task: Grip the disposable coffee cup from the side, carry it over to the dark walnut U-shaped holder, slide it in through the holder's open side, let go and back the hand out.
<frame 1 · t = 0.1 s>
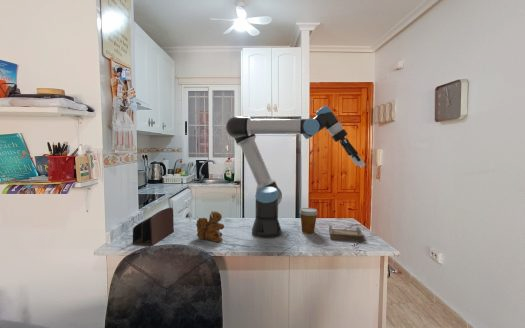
hand: (360, 165, 141), 36 cm above the countertop, tool tilted 35°, fingers open, 13 cm apart
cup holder: (345, 235, 137), on the countertop
letter holder: (154, 238, 130), on the countertop
stuffed squirrel: (209, 238, 130), on the countertop
disposable coffee cup: (308, 232, 142), on the countertop
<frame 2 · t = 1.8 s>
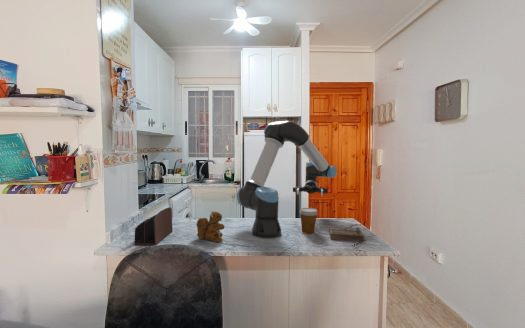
hand: (309, 192, 150), 19 cm above the countertop, tool horizontal, fingers open, 13 cm apart
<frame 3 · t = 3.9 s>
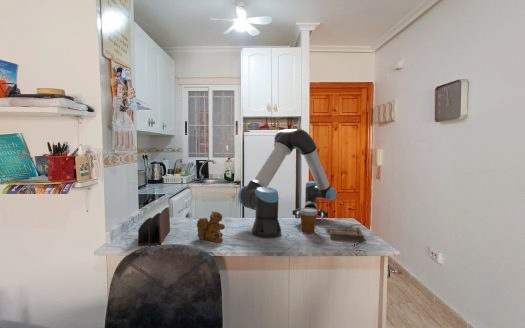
hand: (309, 217, 147), 6 cm above the countertop, tool horizontal, fingers open, 13 cm apart
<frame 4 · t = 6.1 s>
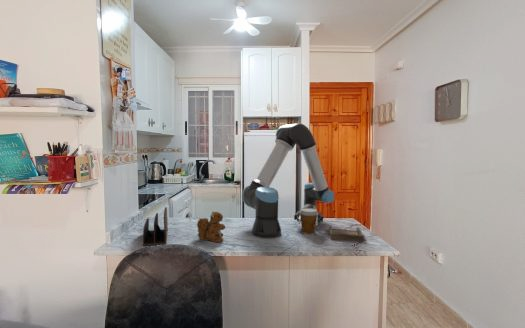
hand: (308, 222, 136), 7 cm above the countertop, tool horizontal, fingers closed on disposable coffee cup, 8 cm apart
disposable coffee cup: (308, 232, 142), on the countertop, touching gripper
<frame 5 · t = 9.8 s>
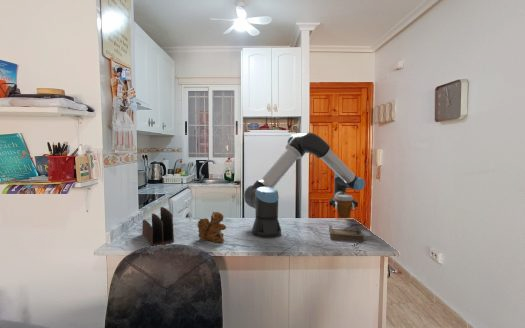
hand: (344, 207, 143), 13 cm above the countertop, tool horizontal, fingers closed on disposable coffee cup, 8 cm apart
disposable coffee cup: (343, 217, 149), point 6 cm above the countertop, touching gripper
when the fingers open (8 cm above the countertop, at t = 13.8 s): disposable coffee cup moves 2 cm, resting on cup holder.
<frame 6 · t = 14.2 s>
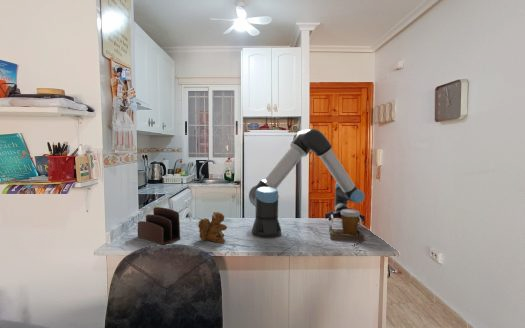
hand: (346, 221, 133), 8 cm above the countertop, tool horizontal, fingers open, 13 cm apart
disposable coffee cup: (349, 234, 137), resting on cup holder, touching gripper
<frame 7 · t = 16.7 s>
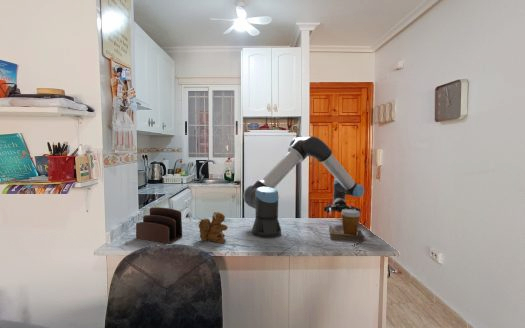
hand: (343, 213, 146), 9 cm above the countertop, tool horizontal, fingers open, 13 cm apart
disposable coffee cup: (349, 234, 137), resting on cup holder
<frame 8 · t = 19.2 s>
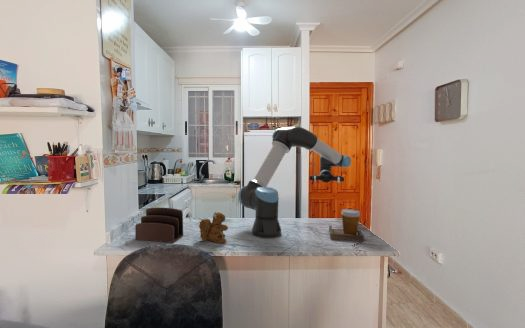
hand: (326, 180, 154), 26 cm above the countertop, tool horizontal, fingers open, 13 cm apart
at the end: disposable coffee cup 2.6 cm off-centre on the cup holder, point 0.4 cm above the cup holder's base; disposable coffee cup tilted 0°; the gripper is holding nothing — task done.
